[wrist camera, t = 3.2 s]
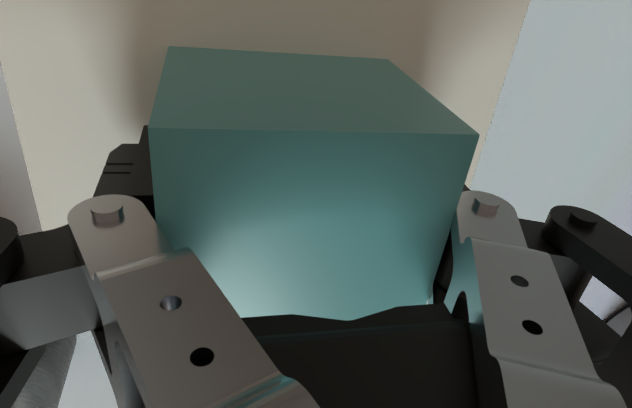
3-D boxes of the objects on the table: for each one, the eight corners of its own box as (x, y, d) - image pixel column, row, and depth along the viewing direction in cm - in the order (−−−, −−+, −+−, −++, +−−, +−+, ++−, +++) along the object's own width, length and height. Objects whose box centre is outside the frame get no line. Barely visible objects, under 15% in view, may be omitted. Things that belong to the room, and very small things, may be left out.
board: (494, -87, 14) (558, -86, 11) (403, 257, 20) (431, 304, 18) (2, -158, 11) (-59, -178, 8) (86, 271, 17) (66, 330, 15)
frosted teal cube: (387, 59, 12) (479, 134, 8) (355, 230, 15) (412, 349, 11) (168, 46, 11) (147, 127, 7) (179, 235, 14) (169, 372, 10)
